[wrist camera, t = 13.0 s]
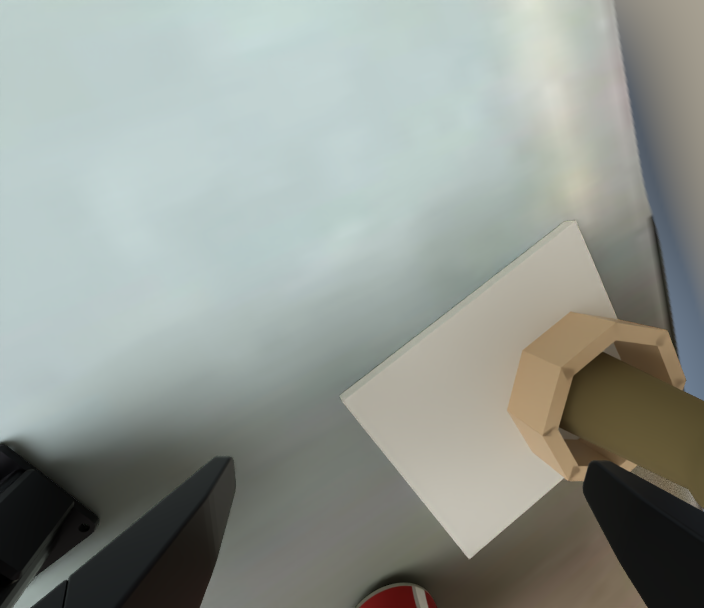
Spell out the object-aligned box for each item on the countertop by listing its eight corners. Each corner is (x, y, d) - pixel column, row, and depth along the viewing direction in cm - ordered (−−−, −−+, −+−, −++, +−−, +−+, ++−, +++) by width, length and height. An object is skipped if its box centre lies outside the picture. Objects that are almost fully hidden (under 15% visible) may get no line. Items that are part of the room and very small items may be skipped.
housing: (463, 549, 25) (496, 603, 21) (339, 395, 20) (355, 430, 16) (641, 396, 26) (702, 422, 22) (565, 221, 21) (625, 217, 18)
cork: (591, 430, 24) (836, 576, 14) (524, 421, 23) (745, 578, 12) (620, 352, 24) (902, 443, 13) (553, 336, 22) (815, 426, 11)
